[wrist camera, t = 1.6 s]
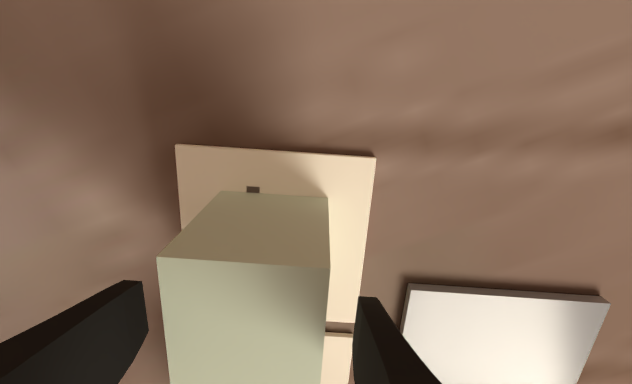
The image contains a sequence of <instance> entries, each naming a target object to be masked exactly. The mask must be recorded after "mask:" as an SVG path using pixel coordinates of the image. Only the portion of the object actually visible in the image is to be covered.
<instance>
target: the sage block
mask: <svg viewBox="0 0 632 384" xmlns="http://www.w3.org/2000/svg"><path fill="white" fill-rule="evenodd" d="M156 261H157V270H158V279H159V288H160V296H161V305H162V314H163V323H164V332H165V341H166V350H167V359H168V368H169V377H170V384H320V382H321V371H322V360H323V349H324V337H325V326H326V315H327V304H328V292H329V281H330V270H331V266H330V237H329V208H328V198H323V197H308V196H293V195H278V194H263V193H248V192H233V191H220V192H219V193H218V194H217V195H216V196H215V197H214V198H213V199H212V200H211V201H210V202H209V203H208V204H207V205H206V206H205V207H204V208H203V209H202V210H201V211H200V212H199V213H198V214H197V215H196V217H195V218H194V219H193V220H192V221H191V222H190V223H189V224H188V225H187V226H186V227H185V228H184V229H183V230H182V231H181V232H180V233H179V234H178V235H177V236H176V237H175V238H174V239H173V240H172V241H171V242H170V243H169V244H168V245H167V246H166V247H165V248H164V249H163V250H162V251H161V252H160V253H159V254H158V255H157V256H156Z"/></svg>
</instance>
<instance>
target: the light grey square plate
mask: <svg viewBox="0 0 632 384" xmlns="http://www.w3.org/2000/svg"><path fill="white" fill-rule="evenodd" d="M610 305H611V303H609V302H608V301H607V300H605V299H604V298H603V297H601V296H591V295H576V294H561V293H546V292H532V291H517V290H502V289H488V288H473V287H458V286H444V285H429V284H414V283H408V287H407V292H406V298H405V303H404V309H403V314H402V320H401V325H400V332H401V334H402V335H403V336H404V338H405V339H406V340H407V342H408V343H409V344H410V346H411V347H412V348H413V350H414V351H415V352H416V353H417V355H418V356H419V357H420V359H421V360H422V361H423V362H424V363H425V365H426V366H427V367H428V368H429V369H430V371H431V372H432V373H433V374H434V375H435V376H436V378H437V379H438V380H439V381H440V382H441V383H442V384H576V383H577V381H578V379H579V376H580V374H581V372H582V370H583V367H584V365H585V363H586V360H587V358H588V356H589V353H590V351H591V349H592V346H593V344H594V342H595V339H596V337H597V335H598V333H599V330H600V328H601V326H602V323H603V321H604V319H605V316H606V314H607V312H608V309H609V307H610Z"/></svg>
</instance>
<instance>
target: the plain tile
mask: <svg viewBox="0 0 632 384" xmlns="http://www.w3.org/2000/svg"><path fill="white" fill-rule="evenodd" d="M352 342H353V334H348V333H333V332H325V337H324V349H323V360H322V371H321V382H320V384H348V380H349V372H350V364H351V356H352Z"/></svg>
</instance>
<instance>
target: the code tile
mask: <svg viewBox="0 0 632 384" xmlns="http://www.w3.org/2000/svg"><path fill="white" fill-rule="evenodd" d="M175 155H176V167H177V180H178V192H179V204H180V217H181V229H182V230H183V229H184V228H185V227H186V226H187V225H188V224H189V223H190V222H191V221H192V220H193V219H194V218H195V217H196V215H197V214H198V213H199V212H200V211H201V210H202V209H203V208H204V207H205V206H206V205H207V204H208V203H209V202H210V201H211V200H212V199H213V198H214V197H215V196H216V195H217V194H218V193H219V192H220V191H233V192H248V193H263V194H278V195H293V196H308V197H323V198H328V208H329V237H330V266H331V270H330V281H329V292H328V304H327V315H326V321H333V322H347V323H355V318H356V310H357V302H358V296H359V293H360V285H361V277H362V269H363V261H364V253H365V245H366V237H367V229H368V221H369V213H370V205H371V197H372V189H373V181H374V173H375V166H376V157H367V156H353V155H338V154H323V153H308V152H293V151H278V150H263V149H248V148H233V147H218V146H203V145H188V144H176V145H175Z"/></svg>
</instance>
